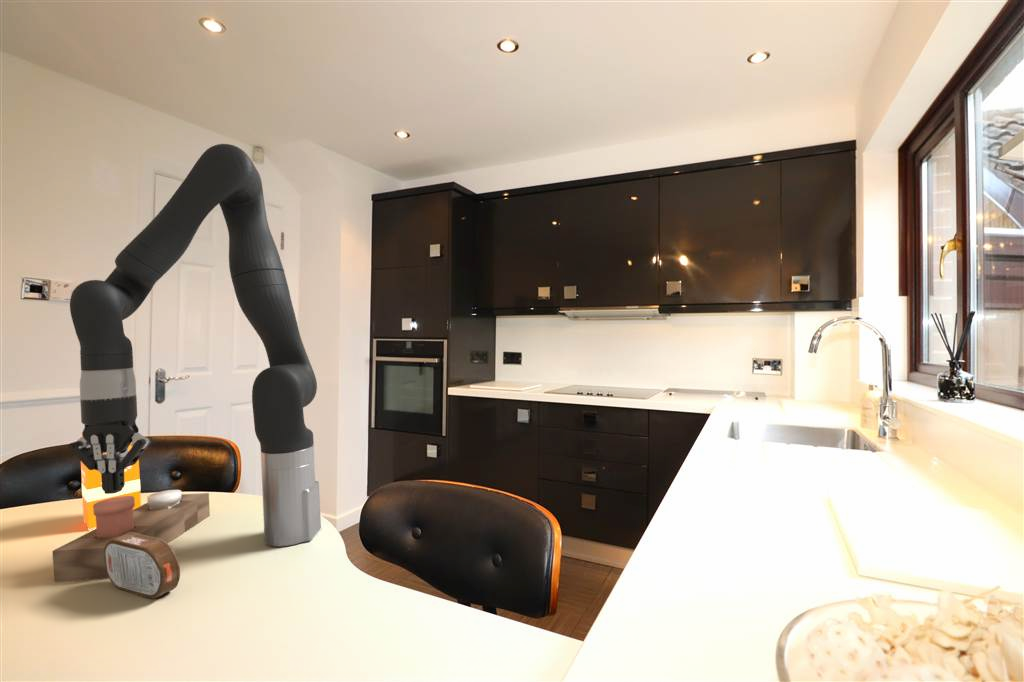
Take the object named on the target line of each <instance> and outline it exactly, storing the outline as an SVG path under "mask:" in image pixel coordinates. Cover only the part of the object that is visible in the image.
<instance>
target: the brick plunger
mask: <svg viewBox="0 0 1024 682" xmlns="http://www.w3.org/2000/svg"><path fill="white" fill-rule="evenodd" d="M133 507H135V497H134V496H120V497H114V498H109V499H106V500H102V501H99V502H97V503H95V504H94V505H93V514H94V515H95V516H96V531H97V538H105V537H119V536H121V535H123V534H125V533H127V532H128V531H130V530H132V529H134V518H133Z"/></svg>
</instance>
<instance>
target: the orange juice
mask: <svg viewBox="0 0 1024 682" xmlns="http://www.w3.org/2000/svg"><path fill="white" fill-rule="evenodd" d="M131 444H132V443H131ZM131 444H130V446H129V450H130V449H131V448H132V446H131ZM105 453H106V452H105ZM105 453H104V454H105ZM139 460H140V459H139ZM139 460H138V461H137V462H136V464H134V465H132V466H129V467H127V468H125V470H124V478H125V481H124V482H125V485H124V487H123V488H122V490H121V491H119V492H117V493H114V494H105V493H104V491H103V489H102V480H101V473H100V472H99V471H97V470H89V469H88V468H87V467H86V466H85V465H84V464H83V463H82V462H81V461H80V471H81V473H80V475H81V496H82V512H83V513H82V514H83V515H82V516H83V522H84V521H85V523H86V525H87V526H88V528H89V529H91V528H94V527H96V516H95V515H94V514H93V505H94V504H95V503H97V502H99V501H102V500H106V499H109V498H114V497H120V496H134V497H135V507H133V510H134V509H136V508H138V507H140V506H142V503H141V502H142V501H141V500H142V499H141V498H142V497H141V479H140V478H141V477H140V461H139ZM85 523H84V524H85ZM86 525H85V526H86ZM88 528H87V529H88Z"/></svg>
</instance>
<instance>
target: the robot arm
mask: <svg viewBox="0 0 1024 682" xmlns="http://www.w3.org/2000/svg"><path fill="white" fill-rule="evenodd" d="M218 205H219V206H220V209H221V212H222V215H223V217H224V220H225V224H226V227H227V231H228V267H229V273H230V278H231V282H232V285H233V289H234V293H235V296H236V300H237V303H238V305H239V307H240V309H241V311H242V313H243V314H244V316H245V317H246V319H247V321H248V322H249V323H250V325H251V326H252V328H253V329H254V330H255V332H256V334H257V335H258V336H259V338H260V340H261V341H262V344H263V346H264V349H265V351H266V356H267V360H268V364H269V367H267V368H264V369H263V370H261V371H260V373H258V375H257V376H255V379H254V381H253V386H252V389H251V403H252V404H251V405H252V413H253V414H252V415H253V425H254V432H255V436H256V438H257V440H258V442H259V444H260V445H259V446H260V462H261V463H260V465H261V485H262V509H263V511H262V512H263V533H264V543H265V544H266V545H268V546H270V547H287V546H293V545H297V544H300V543H303V542H310V541H311V540H313V538H314V537H315V536H316V535H317V534H318V532H319V531H320V530H321V528H322V525H321V524H322V523H321V522H322V521H321V520H322V519H321V518H322V517H321V501H320V500H321V498H320V497H321V495H320V482H319V481H318V480H316V471H315V470H316V469H315V450H314V449H315V448H314V443H315V442H314V432H313V431H312V430H311V429H310V428H308V427H307V426H306V423H305V417H304V408H305V407H308V406H309V405H310V404H311V403H312V401H313V400H314V399H315V397H316V394H317V390H318V384H317V378H316V374H315V372H314V368H313V366H312V364H311V361H310V359H309V356H308V353H307V351H306V348H305V346H304V343H303V340H302V337H301V334H300V329H299V326H298V321H297V317H296V313H295V309H294V305H293V301H292V299H291V298H292V297H291V293H290V289H289V285H288V281H287V277H286V274H285V269H284V266H283V264H282V259H281V257H280V254H279V250H278V248H277V246H276V243H275V240H274V237H273V235H272V232H271V229H270V227H269V223H268V218H267V217H268V216H267V212H266V205H265V198H264V190H263V182H262V178H261V175H260V172H259V171H258V170H257V168H256V166H255V163H254V162H253V160H252V159H251V157H250V156H249V155H248V154H247V152H245V151H244V150H243V149H242V148H240V147H239V146H236V145H234V144H229V143H218V144H215V145H211V146H210V147H209V148H207V149H206V150H205V151H204V152H202V154H201V155H200V157H199V158H198V159H197V160H196V162H195V164H194V165H193V166H192V169H190V171H189V173H188V174H187V176H185V179H184V180H183V181H182V183H180V185H179V186H178V187H177V189H176V191H175V192H174V193H173V195H171V197H170V198H169V200H168V201H167V203H166V204H165V205H164V206H163V208H162V209H161V210H160V211H159V212H157V213H158V214H157V215H156V216H155V217H153V218H152V220H151V221H150V222H149V223H148V224H147V225H146V226H145V228H143V229H142V230H141V231H140V232H139V233H138V234H137V235H136V236H135V237H134V238H133V239H132V240H131V241H130V242H129V243H128V244H127V245H126V246H125V247H124V248H123V249H122V250H121V251H120V252H119V253H118V255H117V256H116V257H115V259H114V264H115V266H116V267H115V268H114V269H113V270H112V272H111V273H110V274H109V275H108V276H107V278H106V279H105V280H101V279H93V280H92V279H91V280H90V279H89V280H87V281H86V280H85V281H83V282H82V283H80V284H78V285H77V286H75V288H74V289H73V291H72V293H71V296H70V299H69V311H70V316H71V320H72V324H73V327H74V331H75V334H76V337H77V339H78V343H79V347H80V350H79V357H80V359H79V360H80V379H79V397H80V398H79V399H80V419H81V424H83V425H84V428H83V430H82V432H81V437H80V438H79V439H77V440H76V441H74V442H73V441H72V442H71V443H69V444H68V449H69V450H70V451H71V452H73V454H74V455H75V456H76V458H77V459H79V461H80V463H81V462H82V463H83V464H84V465H85V466H86V467H87V468H88V469H89V470H97V471H99V472H100V473H101V480H102V489H103V491H104V493H105V494H114V493H117V492H119V491H121V490H122V488H123V487H124V485H125V482H124V481H125V478H124V470H125V468H127V467H129V466H132V465H134V464H136V462H137V461H138V460H140V459H141V457H142V456H143V454H144V453H145V452H146V451H147V449H148V448H149V447H150V445H151V444H152V442H153V438H152V437H151V436H144V435H142V434H141V433H140V432H139V431H140V429H139V427H138V426H137V423H136V420H137V418H138V401H137V400H138V399H137V379H136V375H135V372H134V354H133V352H134V351H133V345H132V341H131V339H130V338H129V337H128V336H126V335H125V331H124V330H125V329H124V324H123V323H124V322H123V321H124V320H126V319H128V318H129V317H130V316H132V315H133V314H134V313H135V312H136V311H137V310H138V309H139V308H140V307H141V306H142V304H143V303H144V301H145V300H146V299H147V297H148V296H149V294H150V292H151V291H152V289H153V288H154V287H155V285H156V283H157V282H158V281H159V280H160V279H161V278H162V277H164V275H166V274H167V272H168V271H169V270H170V269H171V268H172V267H173V266H174V265H175V264H176V263H177V262H178V261H179V260H180V259H181V258H182V256H183V255H184V254H185V252H186V251H187V249H188V248H189V246H190V245H191V243H192V241H193V239H194V237H195V235H196V233H197V232H198V230H199V228H200V226H201V225H202V223H203V222H204V220H205V219H206V218H207V216H208V215H209V214H210V213H211V212H212V210H214V208H216V207H217V206H218ZM131 443H132V444H131ZM130 444H131V446H132V448H131V449H130V450H129V446H130ZM105 452H106V453H105ZM104 453H105V454H104Z"/></svg>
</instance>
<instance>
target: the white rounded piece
mask: <svg viewBox="0 0 1024 682" xmlns="http://www.w3.org/2000/svg"><path fill="white" fill-rule="evenodd" d="M181 495H182V490H180V489H168V490H167V489H166V490H162V491H158V492H155V493H151V494H150V495H148V496H147V498H146V501H147V502H146V503H148V506H150V510H153V509H169V508H171V507H173V506H175V505H176V504H178V503H180V500H181V499H182V497H181Z"/></svg>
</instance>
